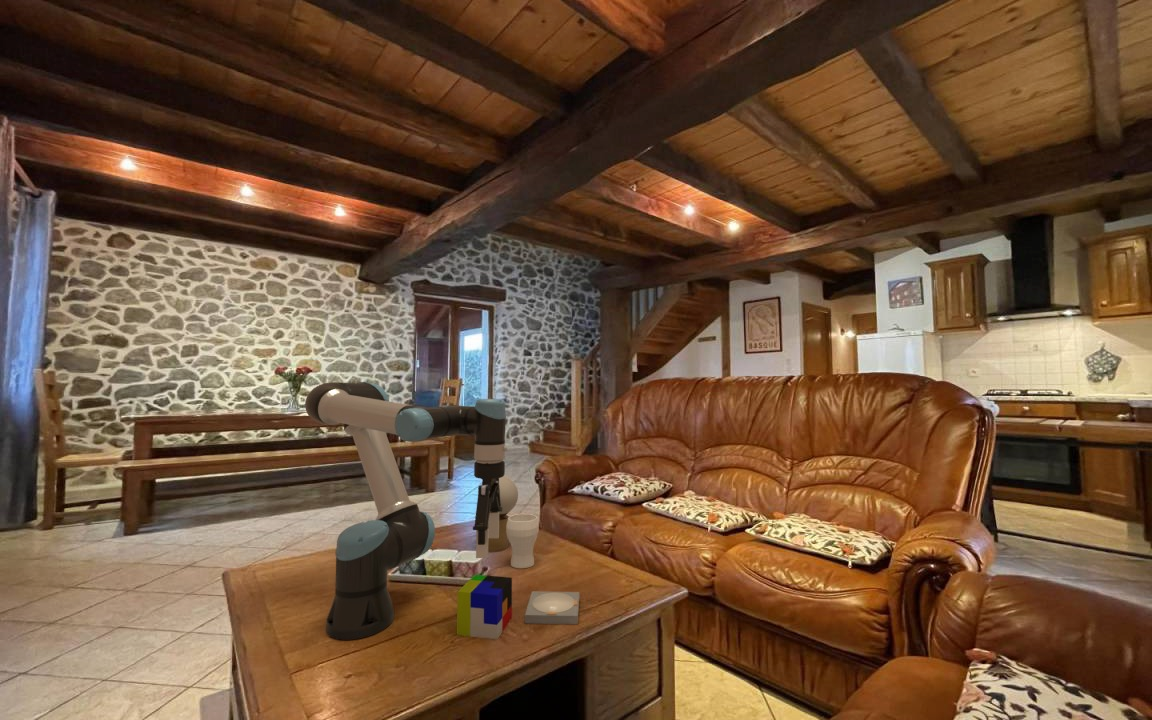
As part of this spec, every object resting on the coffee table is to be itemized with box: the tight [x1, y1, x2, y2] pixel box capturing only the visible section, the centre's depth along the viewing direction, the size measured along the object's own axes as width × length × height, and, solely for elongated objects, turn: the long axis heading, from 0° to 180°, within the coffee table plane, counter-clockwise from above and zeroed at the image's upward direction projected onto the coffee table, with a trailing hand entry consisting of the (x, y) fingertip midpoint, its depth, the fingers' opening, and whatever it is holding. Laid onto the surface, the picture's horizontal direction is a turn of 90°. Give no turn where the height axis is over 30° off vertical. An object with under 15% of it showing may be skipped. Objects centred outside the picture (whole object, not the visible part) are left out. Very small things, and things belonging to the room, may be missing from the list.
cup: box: [506, 513, 540, 569], centre depth 151 cm, size 11×11×15 cm
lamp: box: [480, 475, 519, 553], centre depth 168 cm, size 15×14×25 cm
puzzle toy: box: [456, 574, 513, 640], centre depth 112 cm, size 10×10×10 cm
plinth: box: [524, 590, 580, 625], centre depth 119 cm, size 13×13×2 cm
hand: (488, 547), depth 113 cm, fingers open, 13 cm apart
